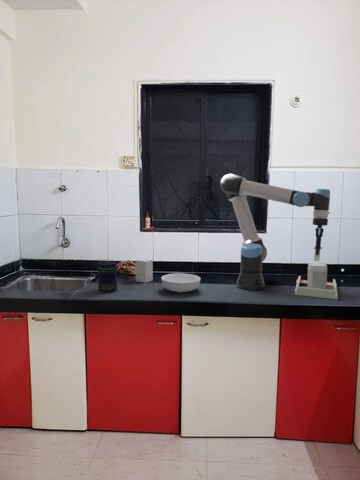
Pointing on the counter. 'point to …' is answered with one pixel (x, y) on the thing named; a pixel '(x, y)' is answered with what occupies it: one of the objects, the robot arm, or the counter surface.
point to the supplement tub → (317, 275)
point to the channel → (316, 291)
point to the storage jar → (107, 276)
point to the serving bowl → (180, 282)
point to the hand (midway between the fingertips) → (316, 260)
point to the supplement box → (144, 270)
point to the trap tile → (306, 282)
